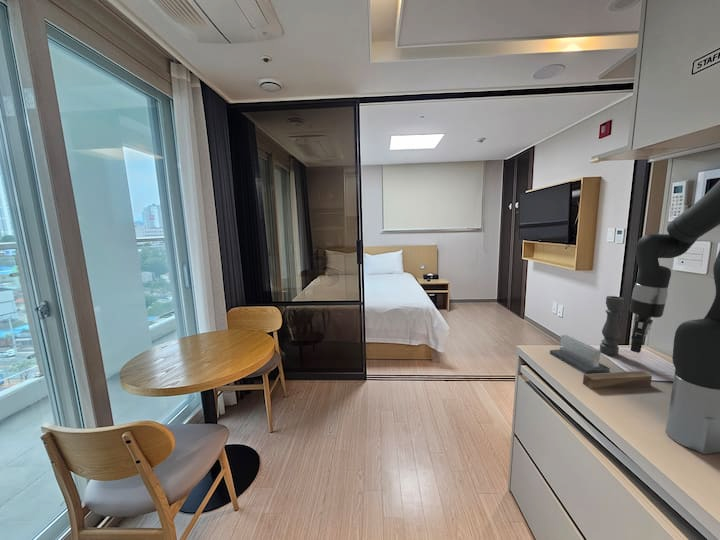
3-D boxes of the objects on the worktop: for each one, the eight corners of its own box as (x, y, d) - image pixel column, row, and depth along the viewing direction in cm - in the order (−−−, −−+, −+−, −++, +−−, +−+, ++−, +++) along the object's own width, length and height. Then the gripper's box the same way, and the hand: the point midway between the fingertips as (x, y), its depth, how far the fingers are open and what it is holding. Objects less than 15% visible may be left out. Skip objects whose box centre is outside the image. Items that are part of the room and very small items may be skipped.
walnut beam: (650, 386, 102) (651, 375, 101) (590, 389, 101) (592, 379, 100) (640, 381, 106) (641, 370, 105) (582, 384, 104) (583, 374, 104)
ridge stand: (609, 371, 112) (611, 351, 110) (586, 374, 110) (588, 353, 109) (570, 351, 129) (571, 333, 128) (549, 353, 128) (551, 335, 127)
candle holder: (621, 356, 124) (629, 299, 120) (607, 356, 124) (613, 299, 120) (609, 349, 130) (616, 295, 126) (595, 349, 130) (601, 296, 126)
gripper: (663, 307, 82) (650, 359, 86) (667, 297, 91) (656, 344, 95) (627, 300, 88) (617, 350, 91) (635, 292, 97) (625, 337, 100)
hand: (637, 347), depth 93 cm, fingers open, 8 cm apart
